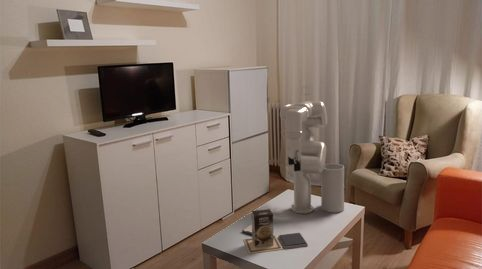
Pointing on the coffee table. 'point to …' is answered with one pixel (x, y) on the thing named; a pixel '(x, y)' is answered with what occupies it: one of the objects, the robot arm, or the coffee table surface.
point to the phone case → (248, 230)
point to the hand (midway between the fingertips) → (294, 167)
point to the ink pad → (292, 240)
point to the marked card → (252, 248)
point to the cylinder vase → (332, 188)
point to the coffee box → (262, 228)
